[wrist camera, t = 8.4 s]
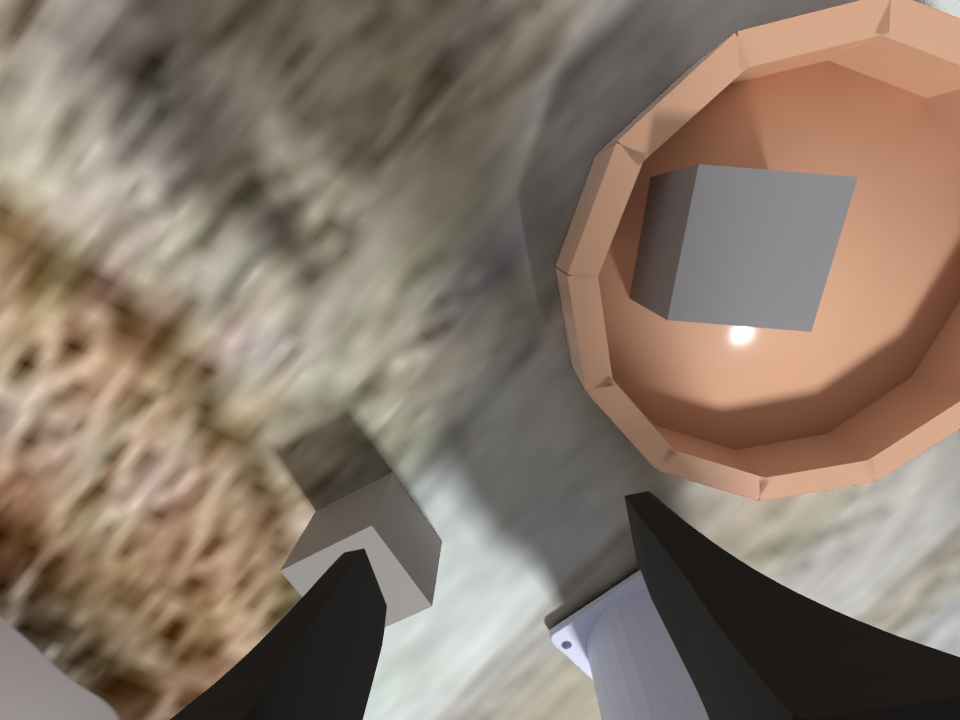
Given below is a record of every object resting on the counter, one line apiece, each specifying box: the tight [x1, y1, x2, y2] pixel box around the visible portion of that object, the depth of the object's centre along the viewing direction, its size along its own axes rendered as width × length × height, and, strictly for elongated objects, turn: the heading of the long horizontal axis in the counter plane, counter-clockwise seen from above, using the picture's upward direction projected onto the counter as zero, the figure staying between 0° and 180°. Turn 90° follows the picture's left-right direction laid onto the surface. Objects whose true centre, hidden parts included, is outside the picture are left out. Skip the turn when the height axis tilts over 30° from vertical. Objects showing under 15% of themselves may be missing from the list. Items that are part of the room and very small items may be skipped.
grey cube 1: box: [629, 164, 858, 332], centre depth 15 cm, size 4×4×4 cm
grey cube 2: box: [280, 472, 442, 627], centre depth 20 cm, size 4×4×4 cm
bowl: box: [555, 0, 960, 501], centre depth 17 cm, size 16×16×3 cm
